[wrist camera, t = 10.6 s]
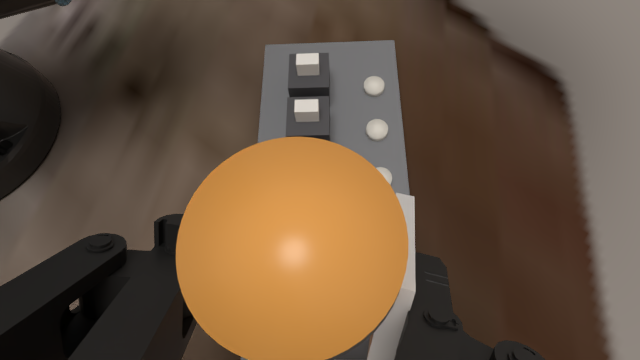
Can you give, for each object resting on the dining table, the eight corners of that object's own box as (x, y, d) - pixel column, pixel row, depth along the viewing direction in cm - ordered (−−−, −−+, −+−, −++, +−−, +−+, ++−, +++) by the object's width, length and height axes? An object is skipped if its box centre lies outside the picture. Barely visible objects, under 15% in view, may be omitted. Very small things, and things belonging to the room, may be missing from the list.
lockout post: (263, 277, 19) (155, 175, 8) (348, 246, 19) (356, 108, 8) (291, 373, 17) (201, 413, 6) (384, 336, 17) (456, 311, 6)
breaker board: (422, 385, 23) (445, 396, 18) (246, 384, 24) (219, 394, 19) (391, 56, 34) (400, 4, 29) (269, 60, 34) (256, 9, 29)
